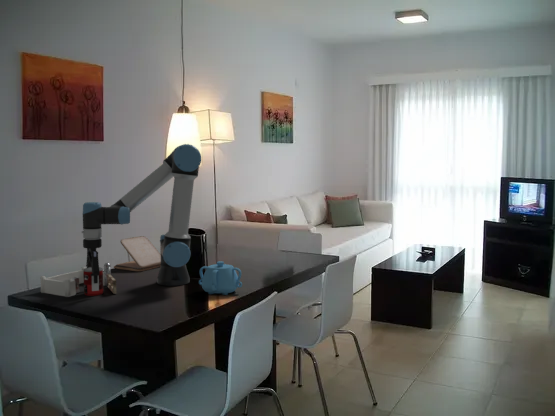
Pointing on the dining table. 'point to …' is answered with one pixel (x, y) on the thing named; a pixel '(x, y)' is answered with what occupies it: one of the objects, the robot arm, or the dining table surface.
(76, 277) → the latch stile
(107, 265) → the hinge post
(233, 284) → the decorative pot
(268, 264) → the dining table surface
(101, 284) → the canned food
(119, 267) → the case
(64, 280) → the pen fence
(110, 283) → the gate
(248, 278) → the dining table surface
